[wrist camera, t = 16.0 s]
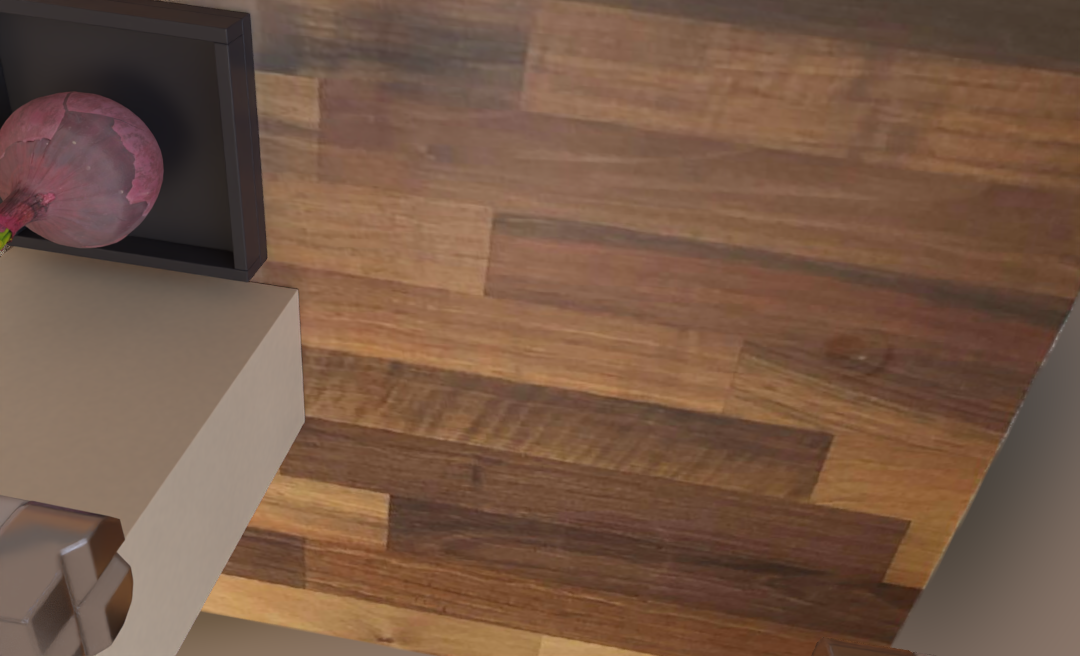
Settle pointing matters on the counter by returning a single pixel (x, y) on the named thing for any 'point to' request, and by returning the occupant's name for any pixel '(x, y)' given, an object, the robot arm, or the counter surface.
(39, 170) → the vegetable
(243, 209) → the pan
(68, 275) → the column
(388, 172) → the counter surface
